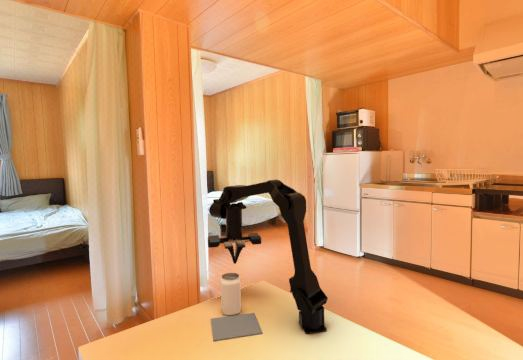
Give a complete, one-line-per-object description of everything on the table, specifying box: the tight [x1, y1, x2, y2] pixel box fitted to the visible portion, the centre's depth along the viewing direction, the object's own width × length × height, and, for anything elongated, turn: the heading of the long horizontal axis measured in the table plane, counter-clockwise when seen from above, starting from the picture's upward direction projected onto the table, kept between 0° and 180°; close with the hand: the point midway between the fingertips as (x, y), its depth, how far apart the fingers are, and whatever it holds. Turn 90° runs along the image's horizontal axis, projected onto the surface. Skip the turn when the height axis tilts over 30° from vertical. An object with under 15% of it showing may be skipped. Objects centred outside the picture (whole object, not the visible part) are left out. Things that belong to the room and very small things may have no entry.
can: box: [220, 272, 242, 316], centre depth 102 cm, size 6×6×12 cm
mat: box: [210, 312, 264, 342], centre depth 93 cm, size 14×12×1 cm
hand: (234, 263), depth 111 cm, fingers closed
